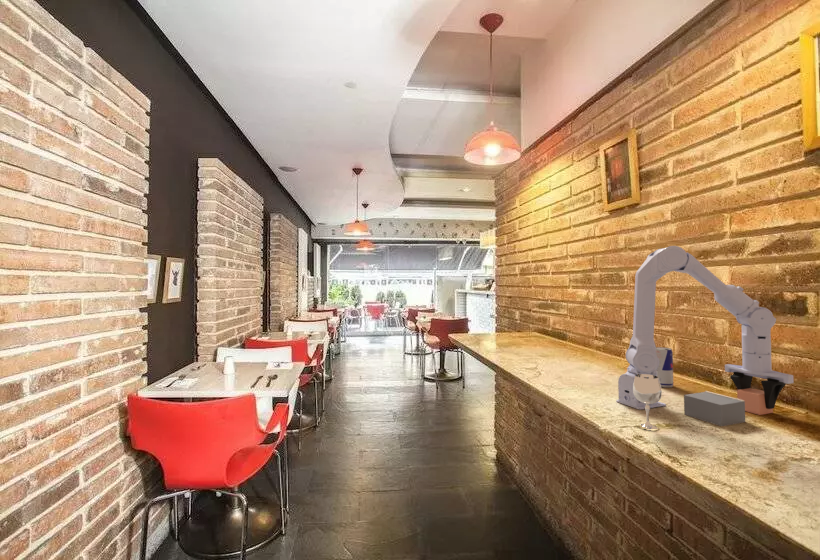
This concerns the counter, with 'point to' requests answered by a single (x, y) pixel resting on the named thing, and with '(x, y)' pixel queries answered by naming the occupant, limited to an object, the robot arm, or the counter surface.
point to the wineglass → (647, 393)
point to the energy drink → (665, 366)
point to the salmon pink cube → (753, 401)
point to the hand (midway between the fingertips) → (757, 405)
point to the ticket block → (714, 408)
